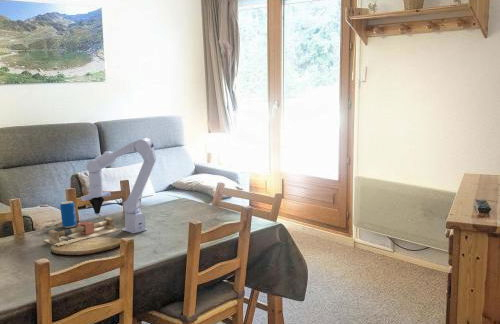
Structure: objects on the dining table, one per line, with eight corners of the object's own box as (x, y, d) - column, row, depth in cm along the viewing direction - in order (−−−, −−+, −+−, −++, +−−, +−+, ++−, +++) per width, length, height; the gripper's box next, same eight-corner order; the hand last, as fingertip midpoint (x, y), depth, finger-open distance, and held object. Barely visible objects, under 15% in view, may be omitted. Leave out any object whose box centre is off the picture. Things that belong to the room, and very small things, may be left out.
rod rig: (104, 226, 239) (104, 215, 239) (119, 230, 232) (118, 220, 231) (44, 241, 216) (43, 229, 216) (58, 246, 209) (57, 234, 208)
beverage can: (72, 228, 236) (69, 203, 234) (60, 228, 237) (57, 204, 235) (79, 224, 242) (76, 200, 240) (66, 224, 243) (64, 200, 241)
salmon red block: (86, 229, 230) (85, 220, 229) (94, 232, 226) (93, 222, 225) (78, 231, 227) (77, 222, 226) (86, 234, 223) (85, 224, 222)
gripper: (104, 181, 238) (105, 209, 240) (76, 186, 227) (78, 215, 229) (112, 183, 234) (114, 211, 236) (85, 188, 223) (86, 217, 225)
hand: (97, 213), depth 232 cm, fingers closed
